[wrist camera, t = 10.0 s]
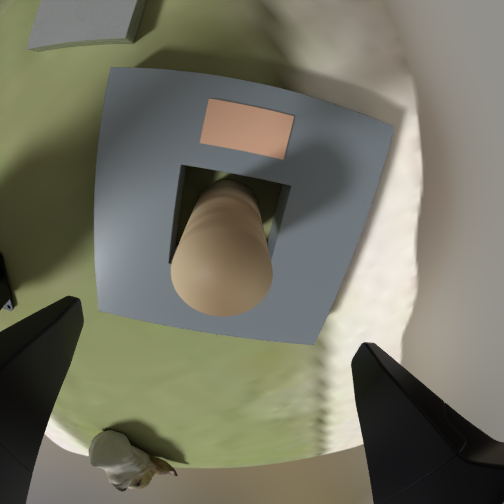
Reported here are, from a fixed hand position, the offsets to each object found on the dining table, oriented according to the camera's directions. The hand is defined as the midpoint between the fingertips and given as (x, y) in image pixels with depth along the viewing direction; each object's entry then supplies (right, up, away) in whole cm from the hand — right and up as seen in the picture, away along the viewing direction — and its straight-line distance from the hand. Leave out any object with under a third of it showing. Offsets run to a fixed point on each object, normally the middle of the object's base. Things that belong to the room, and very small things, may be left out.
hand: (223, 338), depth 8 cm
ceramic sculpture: (-18, -27, +26) cm, 41 cm away
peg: (-1, +5, +10) cm, 12 cm away
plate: (-9, +19, +3) cm, 22 cm away
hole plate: (-1, +5, +10) cm, 11 cm away
